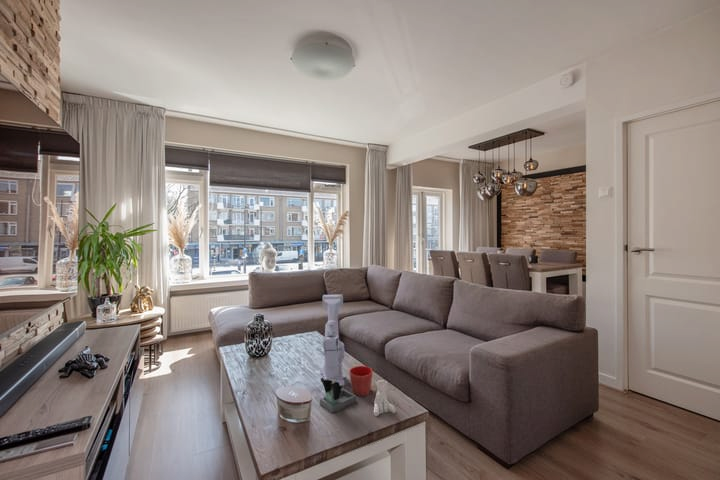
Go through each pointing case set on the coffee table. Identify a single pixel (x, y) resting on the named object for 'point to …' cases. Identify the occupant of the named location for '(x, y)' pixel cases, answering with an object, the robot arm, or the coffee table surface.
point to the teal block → (331, 398)
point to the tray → (344, 400)
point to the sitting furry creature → (382, 399)
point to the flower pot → (361, 379)
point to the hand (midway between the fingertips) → (332, 396)
